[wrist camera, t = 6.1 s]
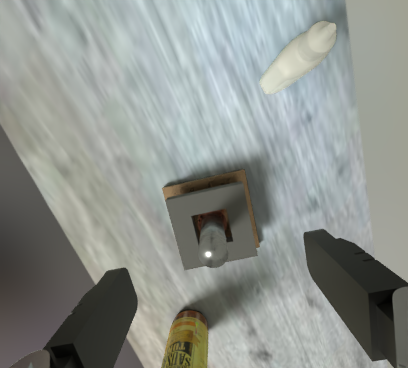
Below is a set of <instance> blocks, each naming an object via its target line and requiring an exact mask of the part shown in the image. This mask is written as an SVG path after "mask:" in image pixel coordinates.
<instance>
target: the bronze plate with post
mask: <svg viewBox="0 0 408 368" xmlns="http://www.w3.org/2000/svg"><path fill="white" fill-rule="evenodd" d="M239 181H242V183H243V185H244V190H245V195H246V200H247V205H248V210H249V215H250V220H251V225H252V230H253V235H254V240H255V245H256V248H258V247H260V245H259V240H258V235H257V230H256V225H255V220H254V215H253V210H252V205H251V200H250V195H249V190H248V185H247V180H246V174H245V170H244V169H241V170H237V171H232V172H228V173H223V174H219V175H214V176H210V177H206V178H201V179H197V180H192V181H188V182H183V183H179V184H175V185H170V186H166V187H163V188H162V190H163V193H164V197H165V200H166V199H167V198H168V197H172V196H176V195H181V194H185V193H190V192H194V191H199V190H203V189H208V188H212V187H217V186H221V185H226V184H230V183H235V182H239ZM193 218H194V222H195V225H196V229H197V233H198V237H199V241H200V243H199V253H198V255H199V259H200V261H201V262H202V263H203V264H204V265H205V266H207V267H210V268H217V267H220V266H222V265H223V264H224V263H225V262H226V261H227V259H228V248H227V242H226V237H230V236H232V233H231V228H230V224H229V219H228V215H227V210H226V209H221V210H217V211H212V212H207V213H203V214H198V215H193Z"/></svg>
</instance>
